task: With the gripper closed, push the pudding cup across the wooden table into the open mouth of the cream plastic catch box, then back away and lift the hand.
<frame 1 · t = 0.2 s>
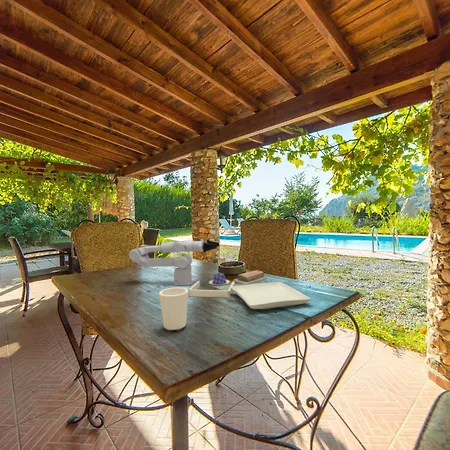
hand: (218, 245, 143), 21 cm above the table, tool horizontal, fingers open, 7 cm apart
cup: (175, 328, 90), on the table
packaged product: (250, 281, 150), on the table
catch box: (213, 291, 130), on the table
square plate: (267, 299, 116), on the table, touching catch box
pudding: (219, 283, 146), on the table
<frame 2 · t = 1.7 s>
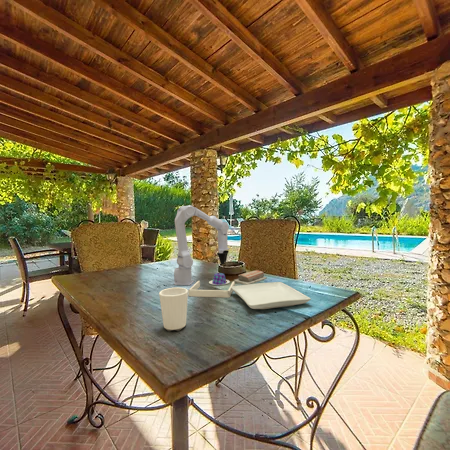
hand: (223, 263, 160), 8 cm above the table, tool pointing down, fingers open, 6 cm apart
nothing on the table moved.
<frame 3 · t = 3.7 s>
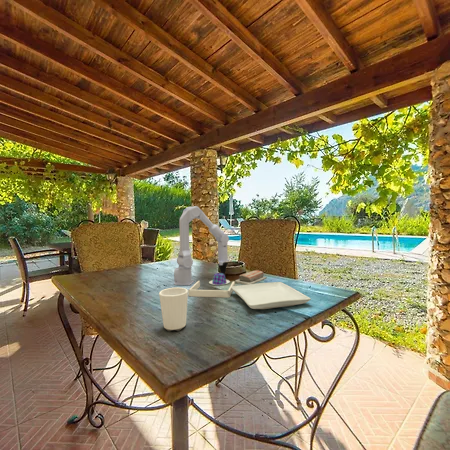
hand: (223, 274, 159), 1 cm above the table, tool pointing down, fingers closed
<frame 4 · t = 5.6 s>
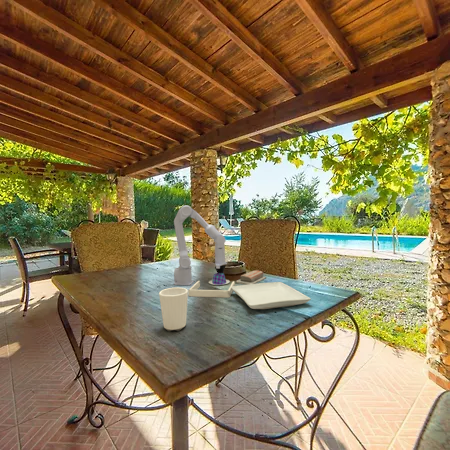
hand: (220, 278, 150), 1 cm above the table, tool pointing down, fingers closed
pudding: (219, 283, 146), on the table, touching gripper
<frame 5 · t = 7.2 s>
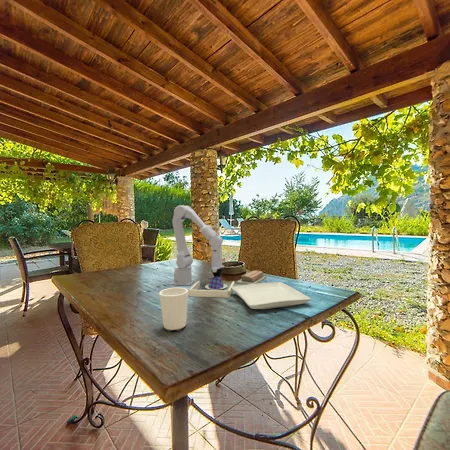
hand: (217, 282, 141), 1 cm above the table, tool pointing down, fingers closed
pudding: (216, 287, 137), on the table, touching gripper
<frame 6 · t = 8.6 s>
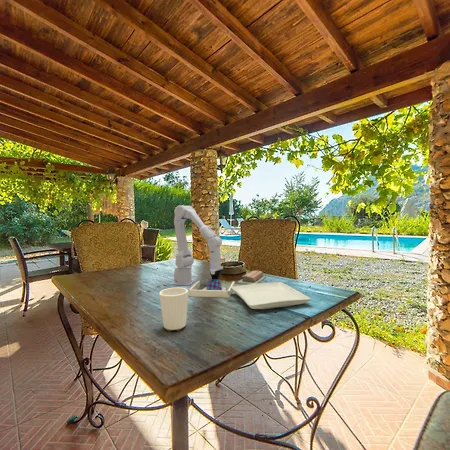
hand: (215, 284, 137), 1 cm above the table, tool pointing down, fingers closed
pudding: (214, 290, 133), on the table
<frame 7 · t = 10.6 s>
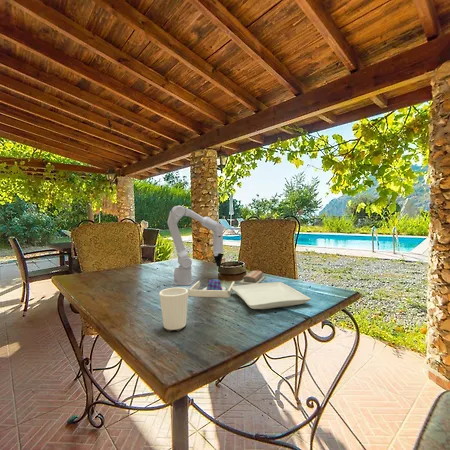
hand: (218, 266, 153), 8 cm above the table, tool pointing down, fingers closed
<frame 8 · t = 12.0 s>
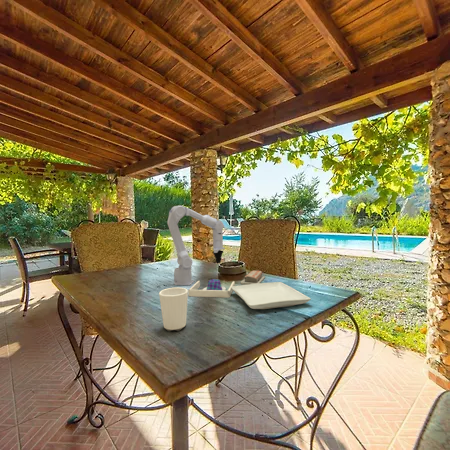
hand: (218, 263, 155), 9 cm above the table, tool pointing down, fingers closed
at the end: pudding inside the target area on the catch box (4.4 cm from its centre), point -0.5 cm above the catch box's base; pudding tilted 0° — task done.
